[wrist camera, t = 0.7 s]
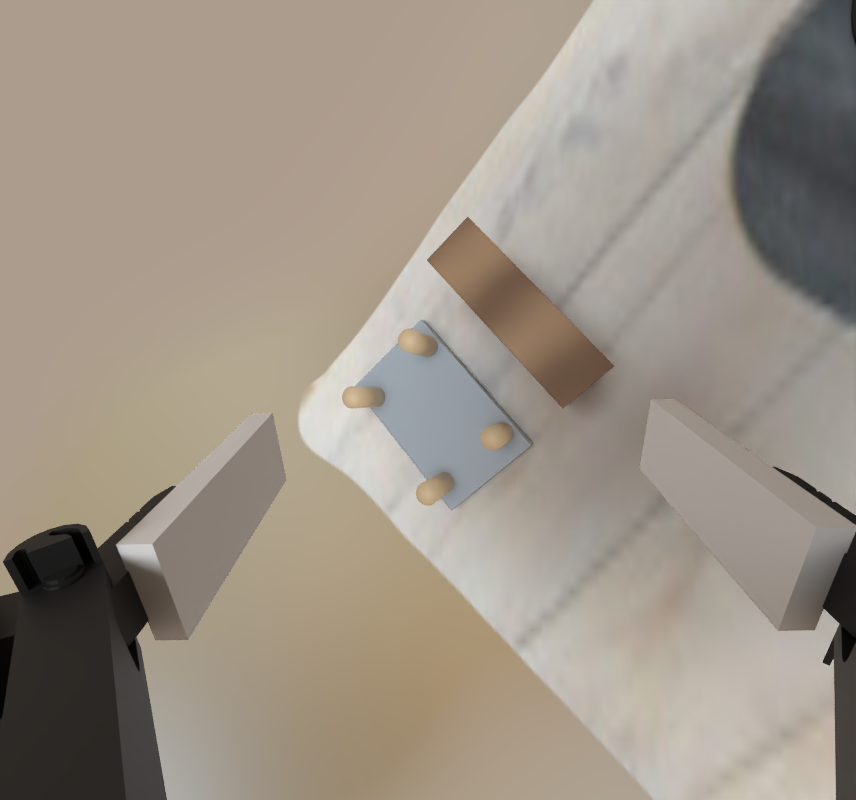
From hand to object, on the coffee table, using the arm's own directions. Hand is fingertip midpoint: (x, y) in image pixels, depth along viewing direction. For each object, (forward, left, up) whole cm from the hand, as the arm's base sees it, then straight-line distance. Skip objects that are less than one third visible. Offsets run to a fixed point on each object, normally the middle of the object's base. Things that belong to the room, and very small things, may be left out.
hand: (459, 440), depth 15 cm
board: (+2, -7, -26) cm, 27 cm away
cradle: (+8, +3, -26) cm, 27 cm away
